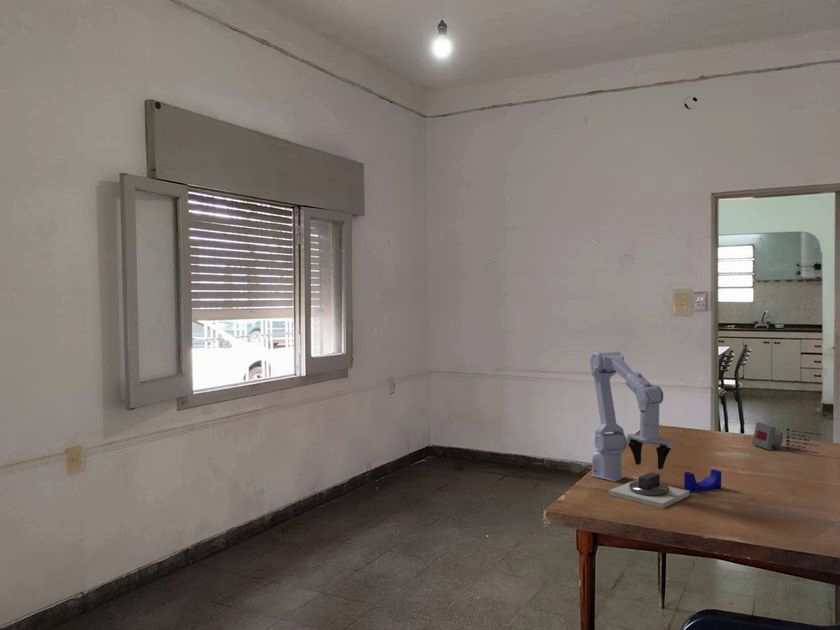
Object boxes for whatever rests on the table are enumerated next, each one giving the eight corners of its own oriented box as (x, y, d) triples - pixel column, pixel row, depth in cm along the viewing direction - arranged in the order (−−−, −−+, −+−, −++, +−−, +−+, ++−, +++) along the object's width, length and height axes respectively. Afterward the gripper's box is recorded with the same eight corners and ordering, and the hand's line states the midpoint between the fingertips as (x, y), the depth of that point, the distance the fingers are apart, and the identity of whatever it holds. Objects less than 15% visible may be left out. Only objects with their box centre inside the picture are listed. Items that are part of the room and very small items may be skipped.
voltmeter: (746, 447, 269) (747, 424, 269) (757, 443, 277) (757, 420, 277) (818, 459, 250) (819, 434, 250) (828, 454, 258) (828, 429, 257)
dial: (622, 489, 206) (622, 475, 206) (640, 481, 215) (641, 468, 215) (657, 498, 198) (658, 483, 198) (676, 489, 206) (676, 475, 206)
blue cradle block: (711, 485, 217) (711, 468, 217) (721, 489, 212) (721, 471, 212) (681, 489, 213) (681, 471, 213) (690, 493, 209) (690, 474, 209)
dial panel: (608, 494, 207) (608, 489, 207) (637, 483, 219) (637, 478, 219) (662, 508, 194) (662, 502, 193) (689, 495, 206) (689, 490, 206)
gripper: (622, 422, 208) (622, 464, 209) (665, 429, 197) (665, 473, 198) (633, 419, 213) (633, 460, 213) (676, 426, 202) (675, 469, 203)
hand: (649, 466), depth 206 cm, fingers open, 7 cm apart
